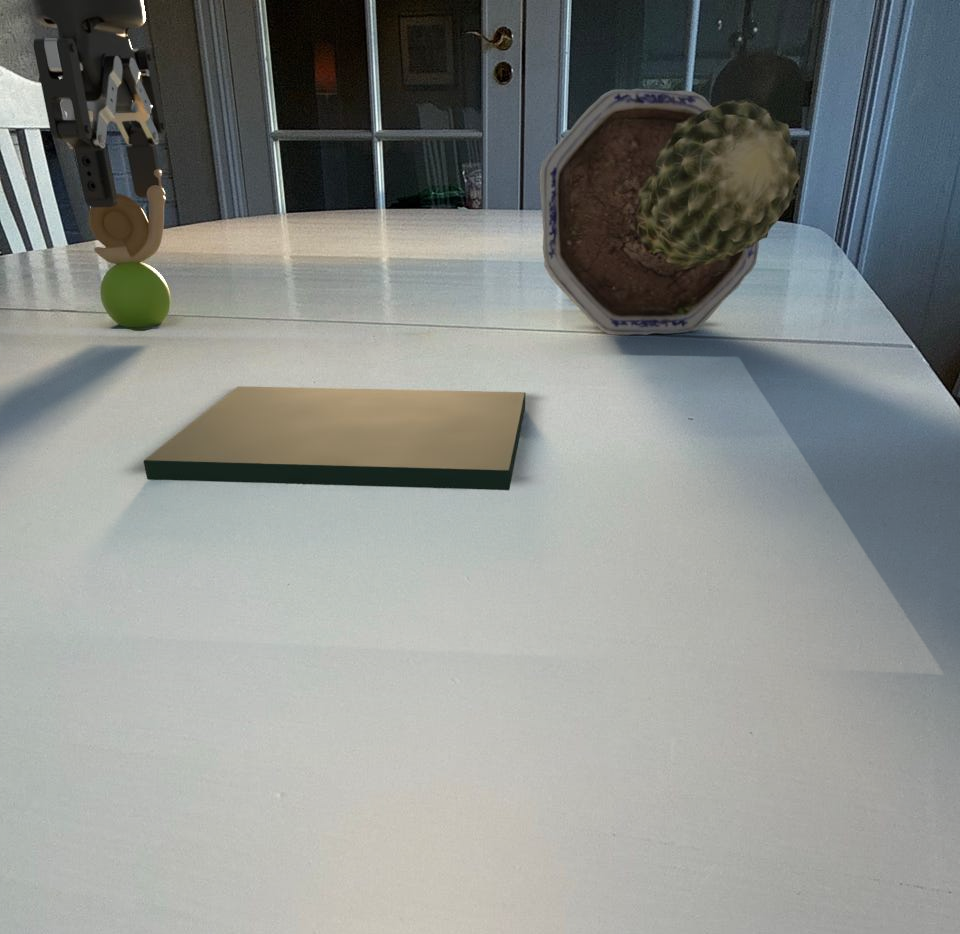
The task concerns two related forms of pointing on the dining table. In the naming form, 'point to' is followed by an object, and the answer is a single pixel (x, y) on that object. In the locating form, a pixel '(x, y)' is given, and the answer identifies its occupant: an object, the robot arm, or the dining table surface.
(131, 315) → the snail figurine
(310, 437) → the mat
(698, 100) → the potted plant
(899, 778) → the dining table surface
